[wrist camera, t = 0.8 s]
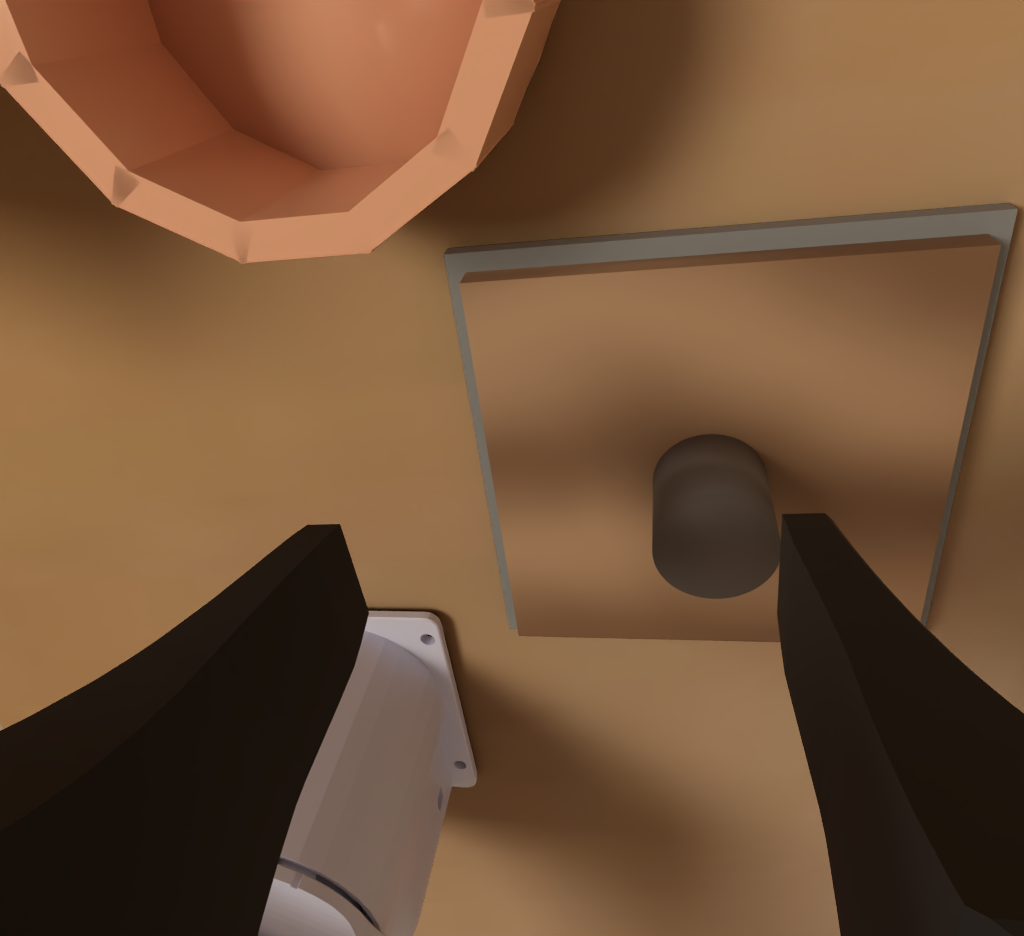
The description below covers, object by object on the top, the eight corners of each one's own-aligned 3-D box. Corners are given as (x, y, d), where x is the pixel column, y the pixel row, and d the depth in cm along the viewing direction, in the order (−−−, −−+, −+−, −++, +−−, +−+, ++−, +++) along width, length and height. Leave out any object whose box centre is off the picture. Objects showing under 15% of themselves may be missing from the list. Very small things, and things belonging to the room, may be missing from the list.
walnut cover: (908, 626, 23) (946, 728, 20) (522, 618, 26) (503, 709, 23) (987, 233, 17) (1061, 295, 14) (465, 272, 20) (429, 332, 16)
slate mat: (918, 626, 24) (922, 638, 24) (512, 618, 27) (509, 629, 26) (1009, 202, 17) (1018, 208, 17) (447, 247, 20) (443, 254, 19)
